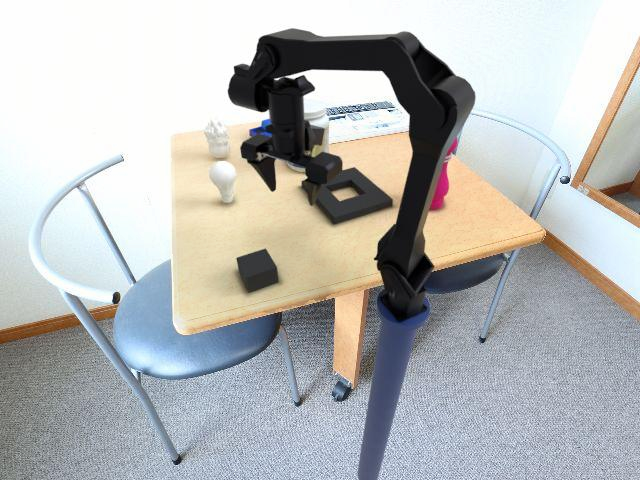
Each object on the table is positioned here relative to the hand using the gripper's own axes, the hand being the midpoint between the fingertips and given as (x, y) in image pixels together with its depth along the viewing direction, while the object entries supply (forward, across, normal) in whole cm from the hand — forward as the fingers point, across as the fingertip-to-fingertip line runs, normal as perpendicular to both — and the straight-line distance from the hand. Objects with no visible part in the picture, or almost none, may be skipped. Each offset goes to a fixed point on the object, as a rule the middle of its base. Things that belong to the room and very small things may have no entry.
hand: (292, 197), depth 70 cm
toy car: (+12, +40, -40) cm, 58 cm away
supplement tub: (+12, +18, -32) cm, 39 cm away
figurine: (+12, +43, -22) cm, 49 cm away
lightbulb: (+12, +24, -4) cm, 27 cm away
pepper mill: (+12, -18, -31) cm, 38 cm away
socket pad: (+12, +1, -22) cm, 25 cm away
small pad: (+12, +1, +11) cm, 17 cm away
